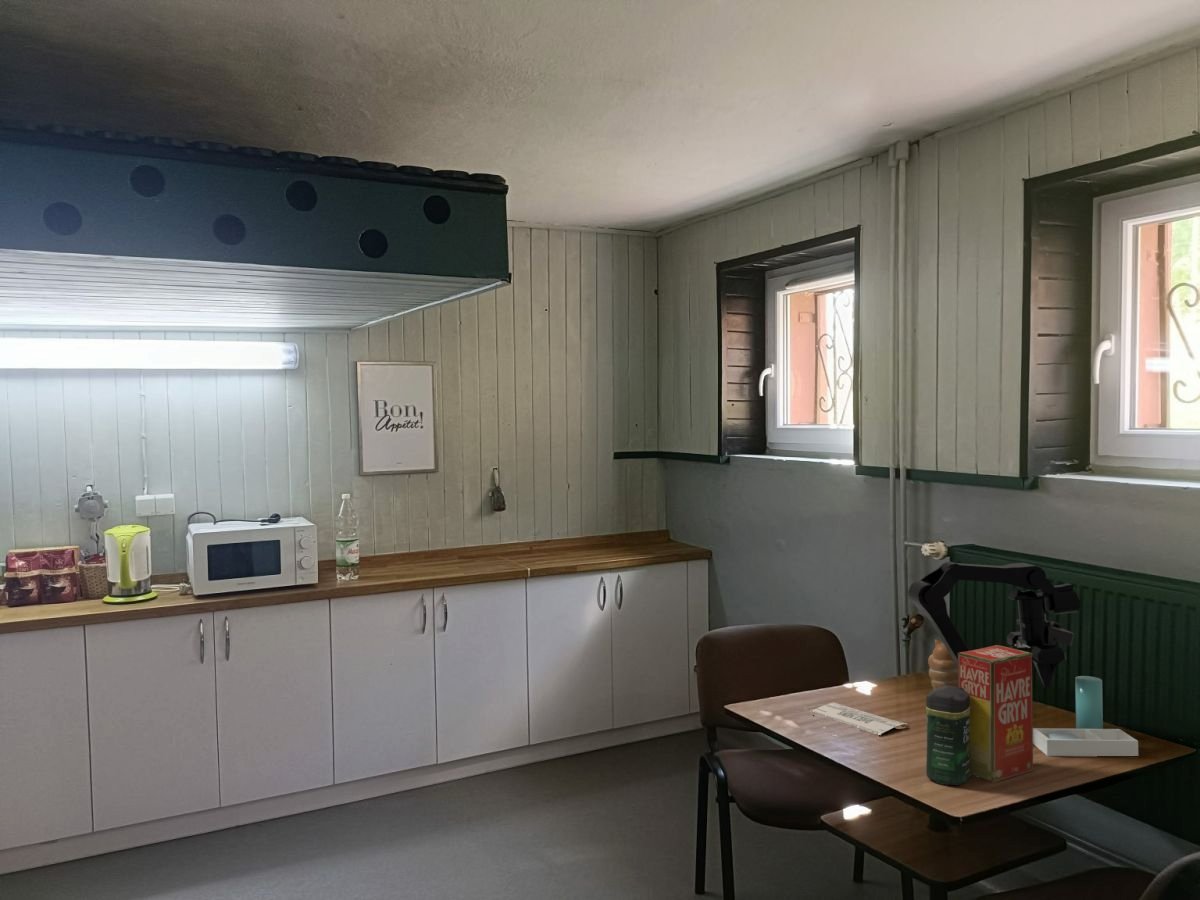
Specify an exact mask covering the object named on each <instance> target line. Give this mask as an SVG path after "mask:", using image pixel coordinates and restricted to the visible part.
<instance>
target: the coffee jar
mask: <svg viewBox="0 0 1200 900" xmlns="http://www.w3.org/2000/svg"><path fill="white" fill-rule="evenodd" d="M925 709H926V710H925V711H926V763H925V764H926V768H925V769H926V771H925V772H926V777H927V778H928V779H930V780H932V781H934V782H935V783H937V784H940V785H944V784H945V786H948V785H952V786H954V785H956V786H961V785H963V784H964V783H966V782H967V781H968V780H969V779H970V777H971V775H972V774H971V762H970V695H969V694H968V693H967V692H966V691H965V690H964V689H963V688H960V687H954V686H948V685H944V686H943V687H940V688H937V689H935V690H934V689H933V690H931V691H930V692H928V694H926V699H925Z"/></svg>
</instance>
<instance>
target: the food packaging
mask: <svg viewBox="0 0 1200 900" xmlns="http://www.w3.org/2000/svg"><path fill="white" fill-rule="evenodd" d="M1032 655H1033V654H1032V653H1030V652H1026V651H1022V650H1017V649H1013V648H1010V646H1009V647H1007V646H1004V645H999V644H998V645H997V644H996V645H992V646H987V647H981V648H978V649H973V650H969V651H966V652H961V653H958V687H960V688H963V689H964V690H965V691H966V692H967V693H968V694H969V695H970V762H971V775H972V776H975V777H977V776H978V777H977V778H981V779H983V780H985V781H988V782H991V783H993V782H995V783H997V782H1001V781H1003V780H1007V779H1011V778H1014V777H1017V776H1021V775H1023V774H1027V773H1030V772H1033V771H1034V744H1033V728H1034V727H1033V719H1034V718H1033V717H1034V716H1033V713H1034V710H1033V707H1034V706H1033V705H1034V704H1033V703H1034V701H1033V699H1034V698H1033V697H1034V696H1033V676H1032Z"/></svg>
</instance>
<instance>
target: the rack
mask: <svg viewBox="0 0 1200 900" xmlns="http://www.w3.org/2000/svg"><path fill="white" fill-rule="evenodd" d="M1033 746H1036V748H1037V749H1038V750H1039V751H1040V752H1042V753H1043V754H1045V756H1047V757H1097V756H1138V757H1139V740H1137V739H1136V738H1134V737H1133V736H1131V735H1130V734H1128V733H1126V732H1125V731H1123V730H1122V729H1120V728H1103V729H1076V728H1059V727H1058V728H1056V727H1055V728H1052V727H1051V728H1047V727H1045V728H1044V727H1039V728H1038V727H1033Z"/></svg>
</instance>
